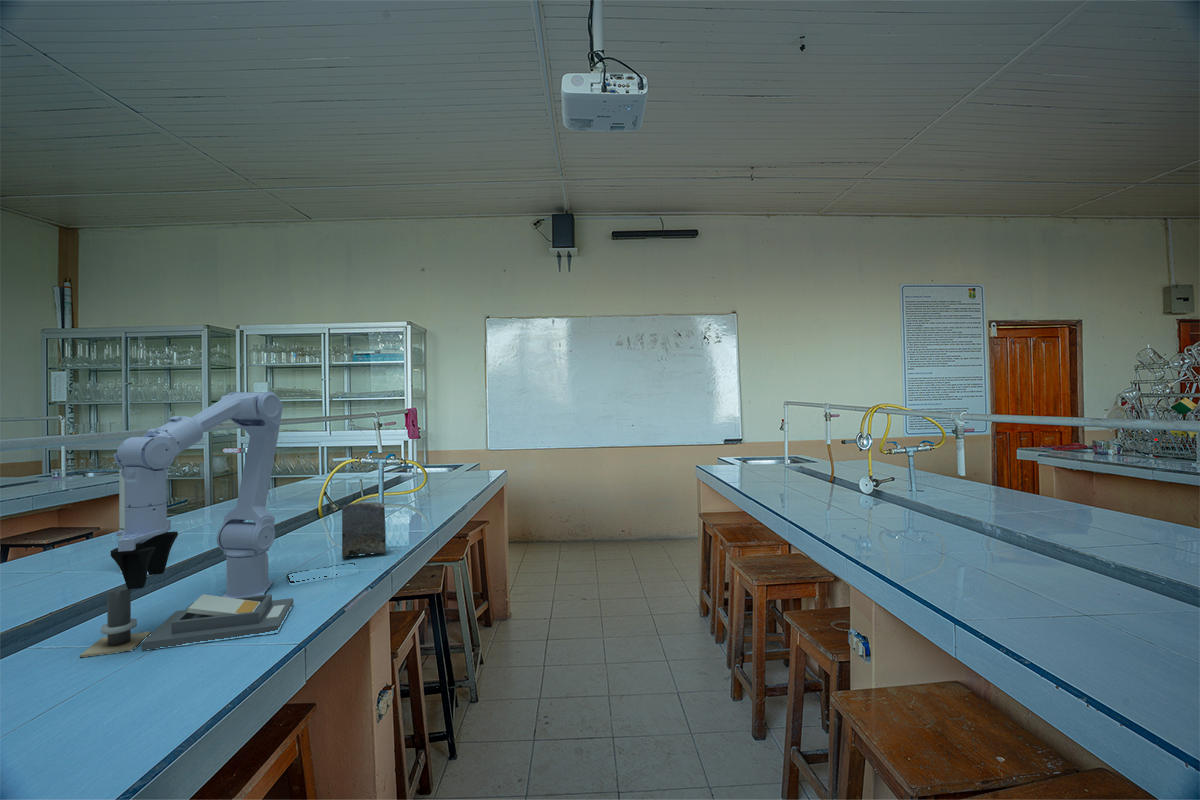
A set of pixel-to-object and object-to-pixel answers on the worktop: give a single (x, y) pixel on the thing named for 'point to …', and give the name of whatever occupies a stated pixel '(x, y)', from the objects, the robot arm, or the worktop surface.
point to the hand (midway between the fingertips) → (146, 580)
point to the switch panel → (219, 624)
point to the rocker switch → (222, 605)
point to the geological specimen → (363, 528)
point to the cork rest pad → (103, 647)
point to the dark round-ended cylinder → (119, 617)
